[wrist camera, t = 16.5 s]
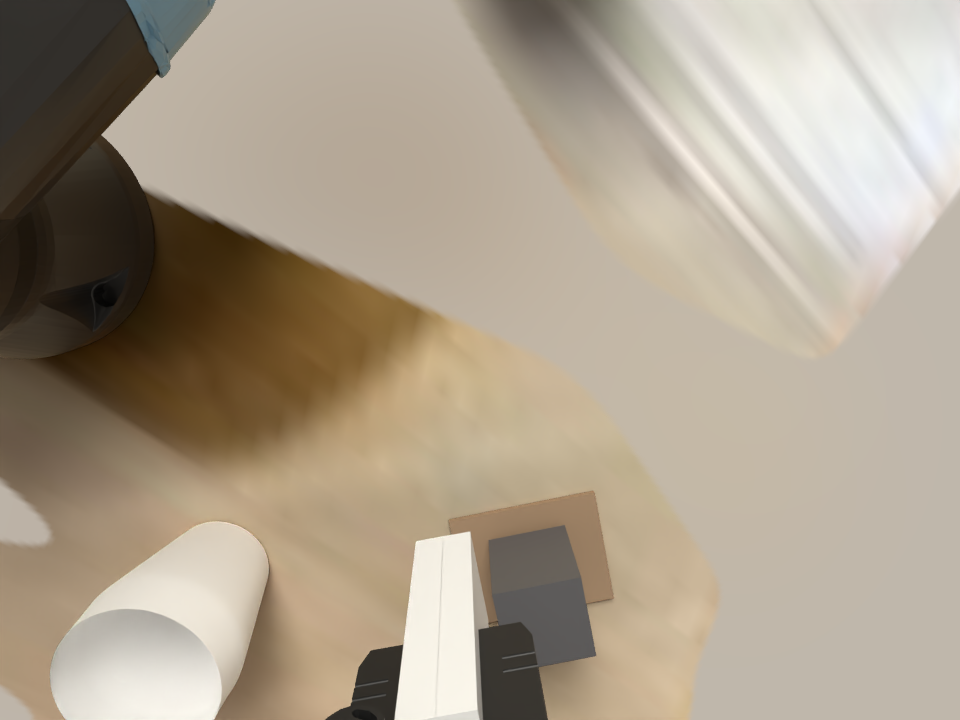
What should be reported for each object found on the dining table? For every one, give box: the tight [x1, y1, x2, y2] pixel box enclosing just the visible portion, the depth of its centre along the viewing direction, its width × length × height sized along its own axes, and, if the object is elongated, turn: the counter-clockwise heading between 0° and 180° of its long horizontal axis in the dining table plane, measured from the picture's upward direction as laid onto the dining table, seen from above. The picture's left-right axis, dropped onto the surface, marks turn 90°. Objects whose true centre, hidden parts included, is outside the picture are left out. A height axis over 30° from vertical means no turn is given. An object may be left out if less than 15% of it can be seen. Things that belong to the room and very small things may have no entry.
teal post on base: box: [449, 491, 614, 623], centre depth 43 cm, size 10×8×7 cm
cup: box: [50, 521, 269, 720], centre depth 40 cm, size 9×9×12 cm
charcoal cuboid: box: [488, 525, 596, 667], centre depth 42 cm, size 5×5×7 cm
